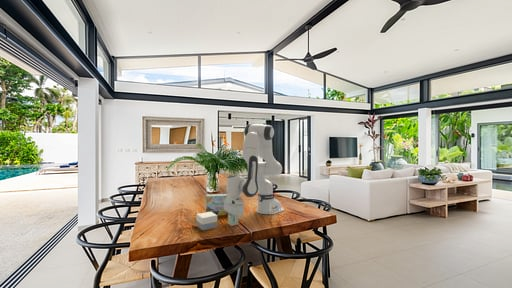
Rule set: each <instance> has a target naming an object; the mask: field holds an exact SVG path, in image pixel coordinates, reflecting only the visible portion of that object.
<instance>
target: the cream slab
mask: <svg viewBox="0 0 512 288" xmlns="http://www.w3.org/2000/svg"><path fill="white" fill-rule="evenodd" d="M195 217H196V220H197V221H198V222H200V223H201V224H202V225H203V224H208V223H213V222H217V223H218V215H216V214H214V213H212V212H206V211H205V212H202V213H196V216H195ZM196 220H195V221H196Z"/></svg>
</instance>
